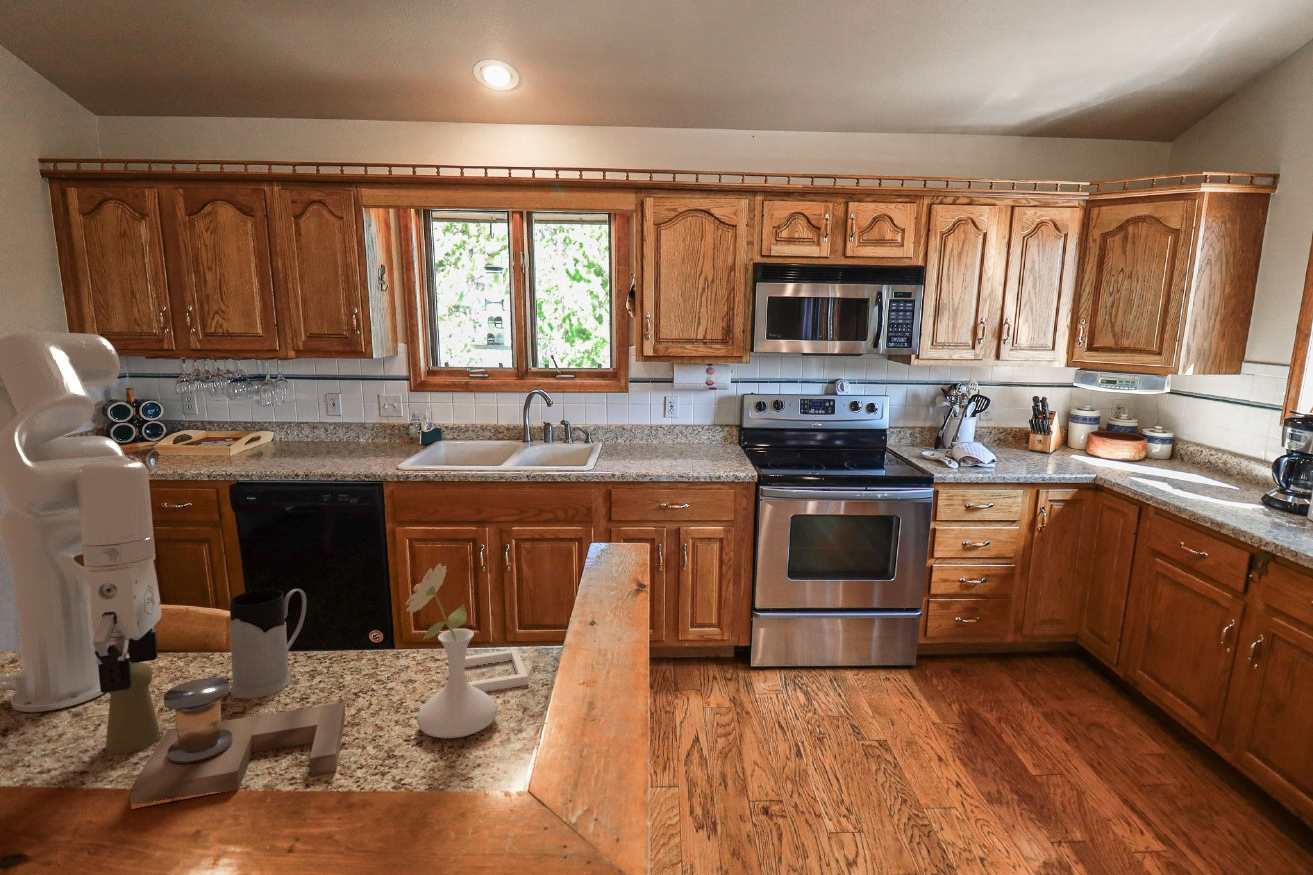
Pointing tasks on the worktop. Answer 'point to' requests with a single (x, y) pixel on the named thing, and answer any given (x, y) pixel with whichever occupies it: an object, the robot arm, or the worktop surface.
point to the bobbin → (198, 720)
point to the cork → (132, 714)
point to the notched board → (243, 753)
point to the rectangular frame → (499, 681)
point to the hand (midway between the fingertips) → (130, 674)
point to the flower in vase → (451, 672)
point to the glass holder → (260, 642)
